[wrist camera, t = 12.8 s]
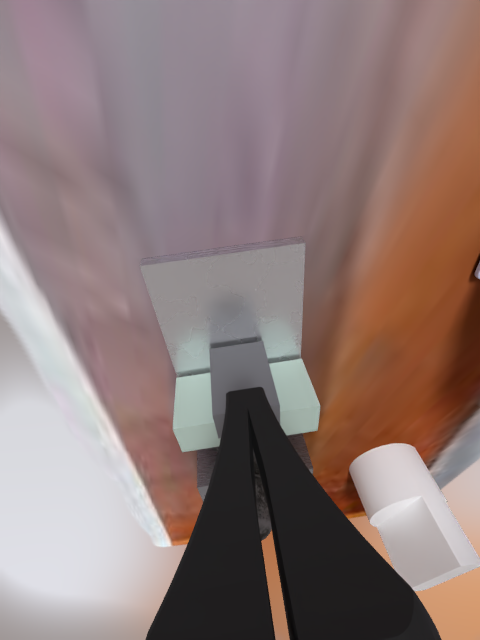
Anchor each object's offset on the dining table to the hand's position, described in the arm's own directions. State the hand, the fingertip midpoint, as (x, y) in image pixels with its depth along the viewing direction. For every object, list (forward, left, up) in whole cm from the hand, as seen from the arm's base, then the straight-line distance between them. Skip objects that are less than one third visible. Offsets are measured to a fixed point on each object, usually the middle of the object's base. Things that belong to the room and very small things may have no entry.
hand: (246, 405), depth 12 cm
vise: (0, +9, -10) cm, 14 cm away
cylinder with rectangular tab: (-17, +31, -11) cm, 37 cm away
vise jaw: (0, +8, -9) cm, 12 cm away
